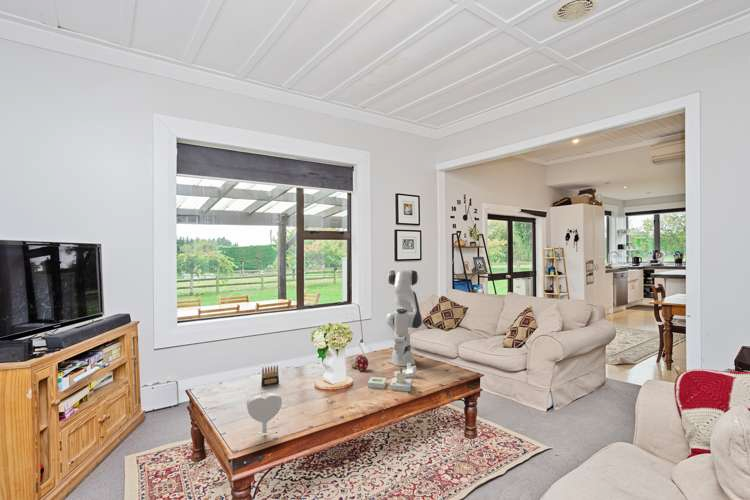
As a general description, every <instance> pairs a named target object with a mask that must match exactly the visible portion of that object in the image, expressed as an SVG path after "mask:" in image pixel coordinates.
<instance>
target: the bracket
mask: <svg viewBox="0 0 750 500" xmlns="http://www.w3.org/2000/svg"><path fill="white" fill-rule="evenodd" d="M402 372H405V379H407V378H410V377H411V379H412V378H413V379H414V378H417V366H416V365H411V363H408V364H407V366H406V369H402ZM393 375H394V377H395V378H397V371H394V373H393Z"/></svg>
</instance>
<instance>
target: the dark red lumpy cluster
mask: <svg viewBox="0 0 750 500" xmlns="http://www.w3.org/2000/svg"><path fill="white" fill-rule="evenodd" d="M350 366H351V367H352V368H353V369H355V368H356V369H357V370H358V372H359V371H360V372H364V371H366V370H367V369H368V366H369V360H368V358H367V357H366V356H365V355H363V354H359V355H358V356H357V357H356V358H355V360H354V361H352V362H351V364H350Z"/></svg>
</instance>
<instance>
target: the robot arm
mask: <svg viewBox="0 0 750 500" xmlns="http://www.w3.org/2000/svg"><path fill="white" fill-rule="evenodd" d="M387 281H388V283H389V285H392V286H394V288H393V289H394V293H395V304H396V305H397V306H398V307H400V308H397V309H396V310H395V311H392V312H389V313H387V314H386V316H385V322H386V324H387V326H389V328H391V329H392V331H393V335H394V336H393V338H394V340H393V342H394V343H395V344H394V350H393V351H392V354H391V355H392V359H391V360H390V361H389V363H390V364H392V365H395V366H397V367H407V364H408V363H411V366H415V365H416V361H415V358H414V357H413V352H412V351H411V349H412V348H411V347H412V346H411V334H410V333H409V332H410V331H409V329H411V328H412V329H418V328H420V327H421V326H422V324H423V317H422V315H421V310H420V307H419V301H418V297H417V293H416V292H415V291H414V290H413V289H412V287H413V286H414V285H416V284H418V281H419V275H418V272H417V271H416V270H409V269H400V270H395V269H394V270H390V271H388V274H387Z"/></svg>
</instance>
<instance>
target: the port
mask: <svg viewBox="0 0 750 500" xmlns="http://www.w3.org/2000/svg"><path fill="white" fill-rule="evenodd" d="M412 383H413V382H412V378H410V379H409V378H405V384H403V383H397V377H392V379H391V382H390V384H389V390H390V391H399V392H407V393H408V394H410V393H411V390H412V387H413V386H412V385H413V384H412Z"/></svg>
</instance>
